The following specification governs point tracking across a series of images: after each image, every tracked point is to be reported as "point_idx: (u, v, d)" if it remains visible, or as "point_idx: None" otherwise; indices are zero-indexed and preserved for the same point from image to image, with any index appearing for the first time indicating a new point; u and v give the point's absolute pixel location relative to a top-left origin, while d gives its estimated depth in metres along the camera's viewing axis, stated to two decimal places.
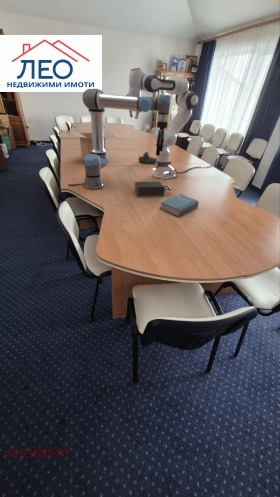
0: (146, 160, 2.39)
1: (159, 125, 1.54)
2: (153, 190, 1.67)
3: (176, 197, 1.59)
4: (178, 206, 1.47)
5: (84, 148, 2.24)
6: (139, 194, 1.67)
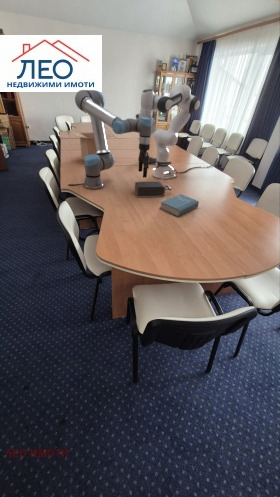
0: None
1: None
2: (153, 190, 1.67)
3: (176, 197, 1.59)
4: (178, 206, 1.47)
5: (84, 148, 2.24)
6: (139, 194, 1.67)
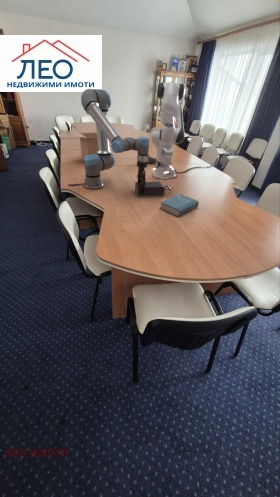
0: None
1: None
2: (153, 190, 1.67)
3: (176, 197, 1.59)
4: (178, 206, 1.47)
5: (84, 148, 2.24)
6: (139, 194, 1.67)
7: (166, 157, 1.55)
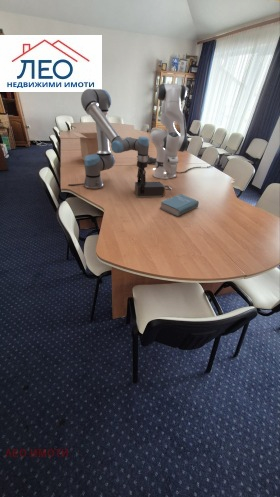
0: None
1: None
2: (152, 190, 1.67)
3: (176, 197, 1.59)
4: (178, 206, 1.47)
5: (84, 148, 2.24)
6: (139, 194, 1.67)
7: (171, 166, 1.55)
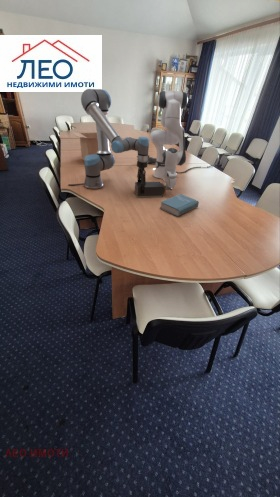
0: None
1: None
2: (152, 190, 1.67)
3: (176, 197, 1.59)
4: (178, 206, 1.47)
5: (84, 148, 2.24)
6: (139, 194, 1.67)
7: (170, 181, 1.62)
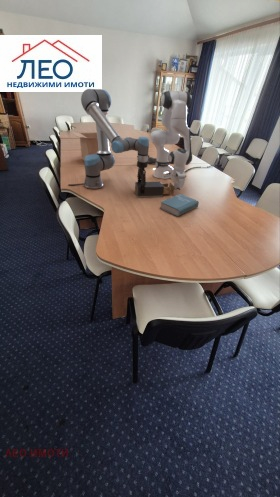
0: None
1: None
2: (153, 190, 1.67)
3: (176, 197, 1.59)
4: (178, 206, 1.47)
5: (84, 148, 2.24)
6: (139, 194, 1.67)
7: (179, 180, 1.63)
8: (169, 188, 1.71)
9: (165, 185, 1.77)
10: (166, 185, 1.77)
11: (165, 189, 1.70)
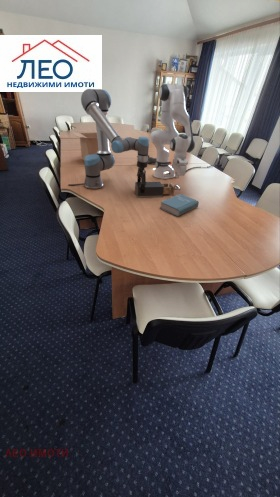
0: None
1: None
2: (153, 190, 1.67)
3: (176, 197, 1.59)
4: (178, 206, 1.47)
5: (84, 148, 2.24)
6: (139, 194, 1.67)
7: (181, 168, 1.57)
8: (169, 188, 1.71)
9: (165, 185, 1.77)
10: (166, 185, 1.77)
11: (165, 189, 1.70)
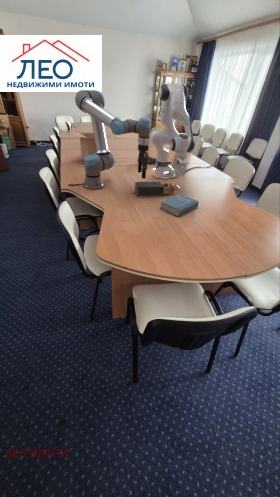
0: None
1: None
2: (153, 190, 1.67)
3: (176, 197, 1.59)
4: (178, 206, 1.47)
5: (84, 148, 2.24)
6: (139, 194, 1.67)
7: (181, 168, 1.57)
8: (169, 188, 1.71)
9: (165, 185, 1.77)
10: (166, 185, 1.77)
11: (165, 189, 1.70)
